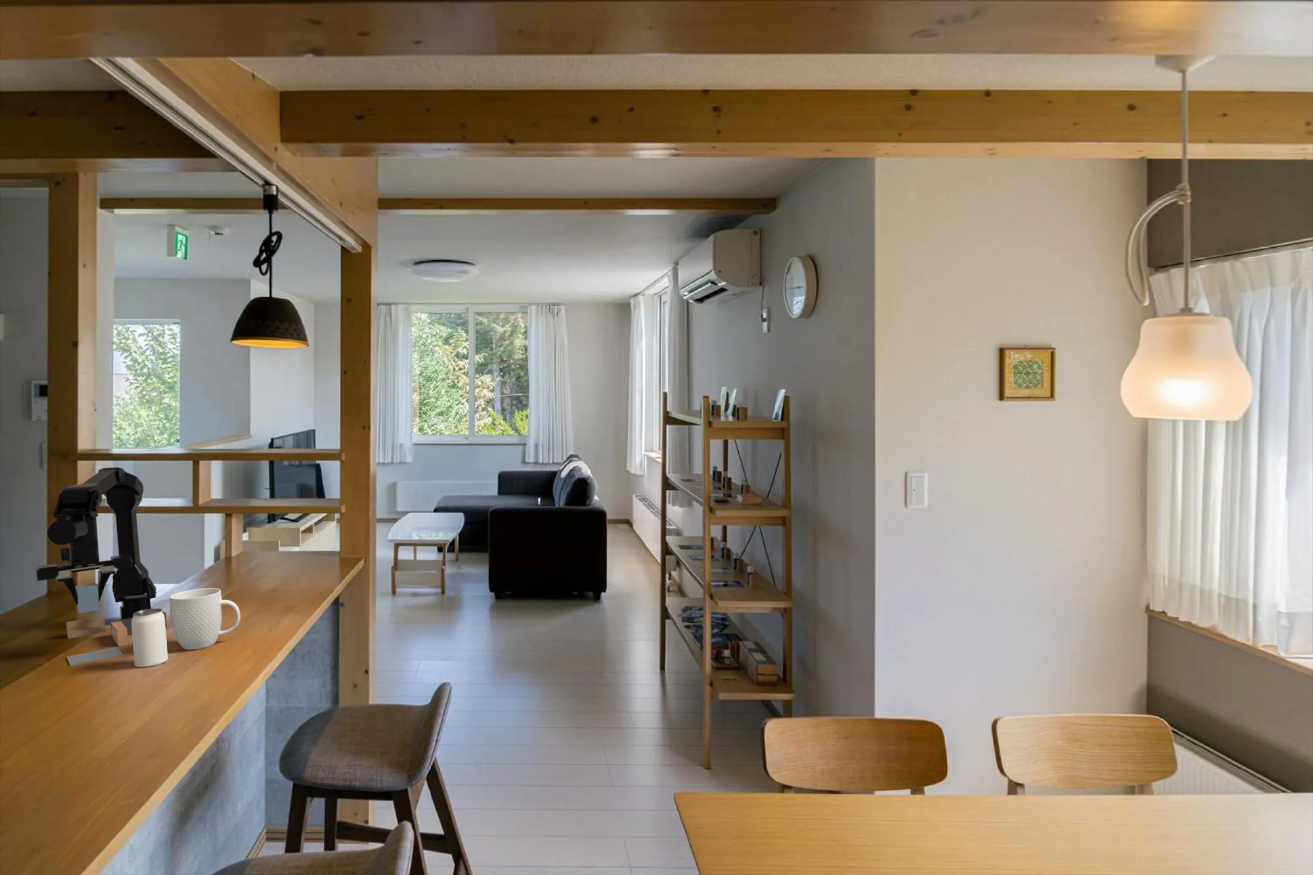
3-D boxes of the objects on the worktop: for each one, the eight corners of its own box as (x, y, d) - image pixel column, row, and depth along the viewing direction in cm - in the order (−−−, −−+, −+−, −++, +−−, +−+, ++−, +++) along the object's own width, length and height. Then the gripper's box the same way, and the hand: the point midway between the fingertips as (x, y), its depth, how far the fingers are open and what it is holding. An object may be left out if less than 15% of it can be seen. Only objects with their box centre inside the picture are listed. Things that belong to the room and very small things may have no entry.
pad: (117, 648, 194) (117, 646, 194) (122, 655, 188) (122, 653, 188) (66, 658, 188) (66, 656, 188) (70, 666, 182) (70, 664, 182)
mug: (245, 634, 202) (241, 583, 202) (238, 646, 192) (234, 593, 191) (178, 642, 197) (174, 591, 197) (168, 655, 187) (163, 601, 186)
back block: (104, 630, 211) (103, 615, 211) (105, 631, 210) (104, 617, 210) (67, 637, 206) (66, 622, 206) (68, 639, 204) (66, 623, 204)
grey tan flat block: (165, 626, 212) (164, 611, 212) (174, 635, 203) (173, 619, 203) (111, 637, 204) (110, 621, 204) (118, 646, 195) (117, 630, 195)
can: (174, 659, 184) (170, 608, 183) (148, 669, 178) (144, 616, 177) (154, 657, 186) (150, 607, 186) (127, 666, 180) (123, 614, 179)
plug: (97, 607, 194) (95, 582, 194) (99, 609, 191) (97, 585, 191) (77, 610, 192) (75, 585, 191) (79, 613, 189) (77, 588, 188)
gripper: (124, 530, 203) (128, 590, 203) (32, 540, 191) (36, 604, 191) (131, 534, 194) (135, 597, 195) (34, 545, 182) (39, 612, 183)
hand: (87, 602), depth 191 cm, fingers closed on plug, 4 cm apart
